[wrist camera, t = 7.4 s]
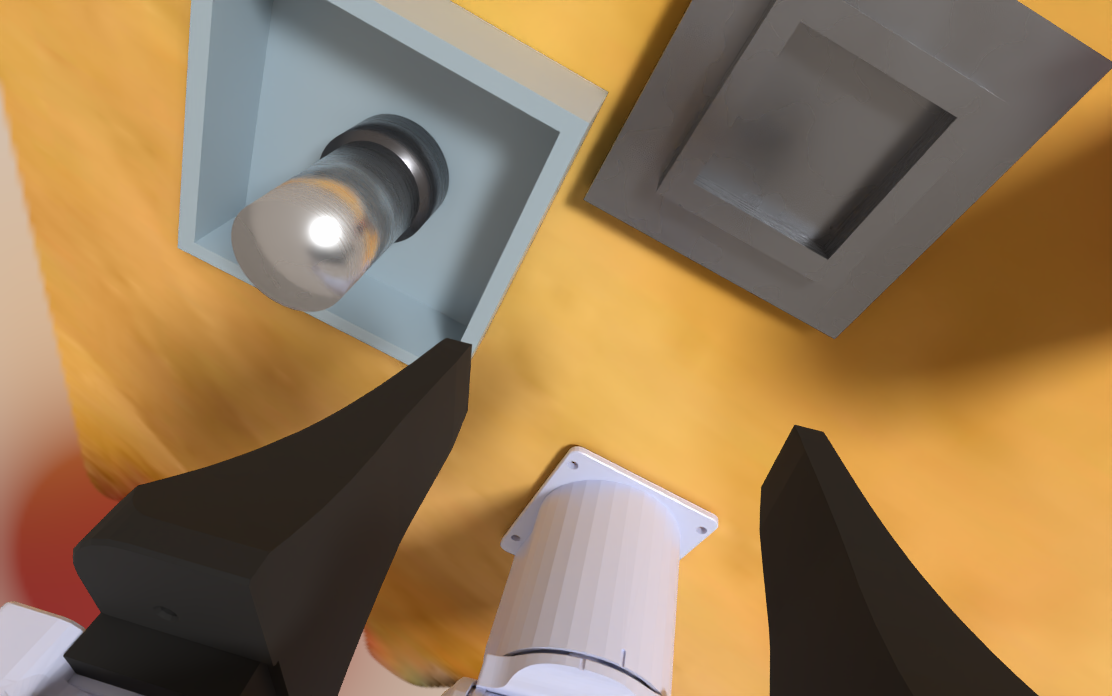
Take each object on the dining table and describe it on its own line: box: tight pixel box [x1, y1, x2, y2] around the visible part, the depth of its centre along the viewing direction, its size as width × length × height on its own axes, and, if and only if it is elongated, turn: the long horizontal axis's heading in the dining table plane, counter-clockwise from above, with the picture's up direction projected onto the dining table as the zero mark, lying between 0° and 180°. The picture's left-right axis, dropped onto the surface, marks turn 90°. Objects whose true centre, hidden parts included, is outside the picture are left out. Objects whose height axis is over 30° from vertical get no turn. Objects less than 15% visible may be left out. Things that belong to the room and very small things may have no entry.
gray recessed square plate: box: [584, 0, 1112, 339], centre depth 18 cm, size 10×10×2 cm
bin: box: [178, 0, 608, 365], centre depth 20 cm, size 11×11×4 cm
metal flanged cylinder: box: [231, 114, 449, 312], centre depth 19 cm, size 4×4×7 cm
